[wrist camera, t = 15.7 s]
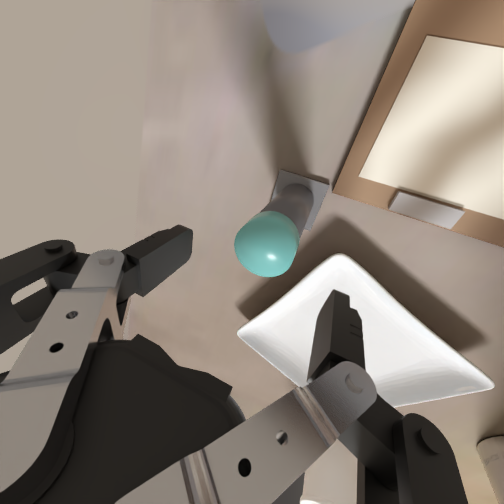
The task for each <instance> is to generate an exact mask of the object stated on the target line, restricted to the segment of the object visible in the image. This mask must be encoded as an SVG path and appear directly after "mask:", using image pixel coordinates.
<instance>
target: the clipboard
mask: <svg viewBox="0 0 504 504" xmlns="http://www.w3.org/2000/svg"><path fill="white" fill-rule="evenodd" d="M332 193H335V194H338V195H341V196H344V197H347V198H350V199H353V200H357V201H360V202H363V203H366V204H369V205H372V206H375V207H379V208H382V209H385V210H388V211H391V212H394V213H397V214H400V215H404V216H407V217H410V218H413V219H416V220H419V221H422V222H426V223H429V224H432V225H435V226H438V227H441V228H444V229H448V230H451V231H454V232H457V233H460V234H463V235H466V236H470V237H473V238H476V239H479V240H482V241H485V242H488V243H492V244H495V245H498V246H501V247H504V0H415V3H414V5H413V7H412V10H411V12H410V14H409V16H408V19H407V21H406V23H405V26H404V28H403V30H402V33H401V35H400V37H399V39H398V42H397V44H396V46H395V49H394V51H393V53H392V56H391V58H390V60H389V62H388V65H387V67H386V69H385V72H384V74H383V76H382V79H381V81H380V83H379V85H378V88H377V90H376V92H375V95H374V97H373V99H372V101H371V104H370V106H369V108H368V111H367V113H366V115H365V118H364V120H363V122H362V124H361V127H360V129H359V131H358V134H357V136H356V138H355V141H354V143H353V145H352V147H351V150H350V152H349V154H348V157H347V159H346V161H345V164H344V166H343V168H342V170H341V173H340V175H339V177H338V180H337V182H336V184H335V187H334V189H333V191H332Z"/></svg>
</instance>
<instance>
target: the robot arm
mask: <svg viewBox="0 0 504 504" xmlns="http://www.w3.org/2000/svg"><path fill="white" fill-rule="evenodd" d="M192 240H193V231H192V230H191V229H189V228H187V227H184V226H182V225H177V226H175V227H173V228H171V229H166V230H162V231H158V232H156V233H154V234H152V235H151V236H149V237H147V238H145V239H144V240H141V241H139V242H137V243H135V244H133V245H131V246H130V247H128V248H126V249H124V250H122V251H117V250H101V251H97V252H95V253H93V254H91V255H90V254H85V253H79V252H76V249H75V246H74V244H73V243H72V242H70V241H67V240H51V241H46V242H43V243H40V244H38V245H35V246H33V247H30V248H28V249H25V250H23V251H20V252H18V253H15V254H13V255H10V256H8V257H5V258H3V259H0V354H2V353H3V352H5V351H6V350H7V349H9V348H10V347H12V346H13V345H15V344H16V343H18V342H19V341H20V340H22V339H23V338H25V337H26V336H28V335H29V334H31V333H32V332H33V334H32V335H31V337H30V339H29V340H28V342H27V344H26V345H25V347H24V349H23V350H22V352H21V354H20V355H19V357H18V359H17V360H16V362H15V364H14V365H13V367H12V369H11V370H10V371H7V372H4V373H1V374H0V504H271V503H272V502H273V501H275V500H276V499H277V498H278V497H279V496H280V495H281V494H282V493H283V492H284V491H285V490H286V489H287V488H288V487H289V486H290V485H291V484H292V483H293V482H294V481H295V480H296V479H297V478H298V477H299V476H300V475H301V474H302V473H304V472H305V471H306V470H307V469H308V468H309V467H310V466H311V465H312V464H313V463H314V462H315V461H316V460H317V459H318V458H319V457H320V456H321V455H322V454H323V453H324V452H325V451H326V450H327V449H328V448H329V447H330V446H331V445H332V444H333V443H334V442H335V441H336V439H338V440H339V441H340V442H341V443H342V444H343V445H344V446H345V447H346V448H347V449H348V450H349V451H350V452H351V453H352V454H353V455H354V456H355V457H356V458H357V504H468V501H467V498H466V494H465V491H464V487H463V484H462V480H461V477H460V473H459V470H458V466H457V463H456V459H455V456H454V453H453V450H452V448H451V446H450V444H449V443H448V441H447V440H446V438H445V437H444V435H443V434H442V433H441V432H440V430H439V429H438V428H437V427H436V426H435V425H434V424H433V423H431V422H430V421H429V420H428V419H426V418H424V417H423V416H421V415H418V414H415V413H409V414H407V415H405V416H403V415H402V414H401V413H400V412H398V411H397V410H396V409H395V408H393V407H392V406H391V405H390V404H389V403H387V402H386V401H385V400H384V399H383V398H381V397H380V395H379V394H378V393H377V390H376V386H375V384H374V382H373V380H372V378H371V377H370V375H369V374H368V373H367V372H366V368H365V355H364V341H363V331H362V330H363V328H362V319H361V317H360V315H359V313H358V311H357V310H355V309H353V308H351V307H350V296H349V295H347V294H345V293H342V292H340V291H337V290H335V289H333V290H332V291H331V293H330V295H329V296H328V298H327V300H326V301H325V303H324V305H323V306H322V308H321V310H320V312H319V314H318V317H317V321H316V326H315V332H314V338H313V344H312V350H311V357H310V363H309V369H308V375H307V381H306V382H307V383H309V384H308V385H306V386H305V387H303V388H302V387H301V386H300V387H297V388H295V389H293V390H292V391H290V392H289V393H287V394H286V395H284V396H283V397H281V398H280V399H278V400H277V401H275V402H273V403H272V404H270V405H269V406H267V407H266V408H264V409H263V410H261V411H260V412H258V413H257V414H255V415H254V416H252V417H250V418H249V419H247V420H246V419H245V416H244V414H243V412H242V411H241V409H240V407H239V406H238V404H237V403H236V402H235V400H234V399H233V398H232V397H231V396H230V393H231V390H232V386H230V385H228V384H227V383H225V382H223V381H221V380H219V379H218V378H216V377H214V376H212V375H211V374H209V373H206V372H202V371H198V370H193V369H189V368H185V367H181V366H178V365H177V364H176V363H175V362H174V361H173V360H172V359H171V358H170V357H169V356H168V355H167V353H166V352H165V351H164V350H163V349H162V348H161V347H160V346H159V345H157V344H155V343H154V342H152V341H150V340H148V339H146V338H145V337H143V336H141V335H139V334H137V335H136V336H135V337H134V338H133V339H132V340H123V333H124V327H125V323H126V319H127V315H128V310H129V306H130V302H131V295H133V294H134V293H136V294H138V295H140V296H142V297H144V296H145V295H147V294H148V293H149V292H150V291H151V290H153V289H154V288H155V287H156V286H158V285H159V284H160V283H161V282H163V281H164V280H165V279H166V278H167V277H169V276H170V275H171V274H172V273H174V272H175V271H176V270H177V269H179V268H180V267H181V266H182V265H184V264H185V263H186V262H187V261H188V260H189V258H190V256H191V253H192ZM41 278H44V280H45V282H46V284H47V287H45V288H43V289H41V290H39V291H38V292H36V293H34V294H32V295H30V296H29V297H27V298H25V299H23V300H21V301H20V302H18V303H16V304H14V305H12V303H11V298H12V296H13V295H14V293H16V292H17V291H18V290H20V289H22V288H24V287H26V286H28V285H29V284H31V283H33V282H35V281H37V280H39V279H41ZM477 451H478V454H479V456H480V459H481V461H482V463H483V466H484V468H485V471H486V473H487V476H488V478H489V480H490V483H491V485H492V488H493V491H494V493H495V495H496V498H497V500H498V503H499V504H504V436H499V437H492V438H488V439H485V440H483V441H481V442H480V443H479V444H478V446H477Z"/></svg>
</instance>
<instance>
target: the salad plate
mask: <svg viewBox="0 0 504 504" xmlns="http://www.w3.org/2000/svg"><path fill="white" fill-rule="evenodd" d="M333 289H335V290H337V291H340V292H342V293H345V294H347V295H349V296H350V307H351V308H353V309H355V310H357V311H358V313H359V315H360V317H361V319H362V328H363V330H362V331H363V341H364V355H365V368H366V372H367V373H368V374H369V375H370V377H371V378H372V380H373V382H374V384H375V386H376V390H377V393H378V394H379V395H380V397H381V398H383V399H384V400H385V401H386V402H387V403H389V404H390V405H391V406H392V407H393V408H394V407H399V406H405V405H411V404H416V403H421V402H427V401H432V400H438V399H443V398H449V397H454V396H459V395H464V394H470V393H475V392H481V391H486V390H490V389H493V388H494V387H495V384H494V382H493V381H492V379H491V378H490V377H489V376H487V375H486V374H485V373H484V372H483V371H481V370H480V369H479V368H478V367H477V366H475V365H474V364H473V363H472V362H470V361H469V360H468V359H466V358H465V357H464V356H463V355H461V354H460V353H459V352H458V351H456V350H455V349H454V348H452V347H451V346H450V345H448V344H447V343H446V342H445V341H443V340H442V339H441V338H440V337H439V336H437V335H436V334H435V333H434V332H433V331H431V330H430V329H429V328H428V327H427V326H426V325H424V324H423V323H422V322H421V321H420V320H419V319H417V318H416V317H415V316H414V315H413V314H412V313H411V312H409V311H408V310H407V309H406V308H405V307H404V306H403V305H402V304H400V303H399V302H398V301H397V300H396V299H395V298H394V297H393V296H392V295H391V294H390V293H389V292H388V291H387V290H386V289H385V288H384V287H383V286H382V285H381V284H380V283H379V282H378V281H377V280H376V279H375V278H374V277H373V276H372V275H370V274H369V273H368V272H367V271H366V270H365V269H364V268H363V267H362V266H361V265H359V264H358V263H357V262H356V261H354V260H353V259H352V258H351V257H349V256H348V255H346V254H343V253H336V254H334V255H331V256H330V257H328V258H327V259H326V260H324V261H323V262H322V263H320V264H319V265H318V266H317V267H315V268H314V269H313V270H312V271H311V272H310V273H309V274H307V275H306V276H305V277H304V278H303V279H302V280H301V281H300V282H299V283H297V284H296V285H295V286H294V287H293V288H292V289H291V290H289V291H288V292H287V293H286V294H285V295H284V296H282V297H281V298H280V299H279V300H277V301H276V302H275V303H274V304H272V305H271V306H270V307H268V308H267V309H266V310H265V311H263V312H262V313H260V314H259V315H257V316H256V317H254V318H253V319H252V320H250V321H249V322H247V323H246V324H244V325H243V326H242V327H240V328H239V329H238V331H237V335H238V336H239V337H240V338H241V339H242V340H243V341H244V342H245V343H246V344H248V345H249V346H250V347H251V348H253V349H254V350H255V351H256V352H257V353H259V354H260V355H261V356H262V357H263V358H265V359H266V360H267V361H268V362H270V363H271V364H272V365H273V366H274V367H276V368H277V369H278V370H279V371H280V372H282V373H283V374H284V375H285V376H286V377H288V378H289V379H290V380H291V381H293V382H294V383H295V384H296V385H297V386H299V387H300V386H301V387H302V388H303V387H305V386H306V385H308V384H309V383H307V382H306V381H307V375H308V369H309V363H310V357H311V350H312V344H313V338H314V332H315V326H316V321H317V317H318V314H319V312H320V310H321V308H322V306H323V305H324V303H325V301H326V300H327V298H328V296H329V295H330V293H331V291H332V290H333Z"/></svg>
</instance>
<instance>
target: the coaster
mask: <svg viewBox="0 0 504 504" xmlns="http://www.w3.org/2000/svg"><path fill="white" fill-rule="evenodd" d="M295 183H298V184H302V185H305V186H306V187H308V188H309V189H310V191H311V192H312V194H313V198H314V204H313V207H312V210H311V212H310V215H309V217H308V220H307V222H306V225H305V227H304V229H306V230H309V231H310V230H311V228H312V225H313V223H314V221H315V218H316V216H317V214H318V211H319V209H320V206H321V204H322V202H323V199H324V197H325V194H326V192H327V190H328V187H329V184H326V183H323V182H320V181H316V180H313V179H310V178H307V177H304V176H300V175H297V174H294V173H291V172H288V171H284V170H280V171H279V174H278V178H277V182H276V185H275V189H274V193H273V196H272V200H273V199H274V198H275V197H276V196H277V195H278V194H279V193H280V192H281V191H282V190H283V189H284V188H285V187H286V186H288V185H290V184H295ZM272 200H271V201H272Z"/></svg>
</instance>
